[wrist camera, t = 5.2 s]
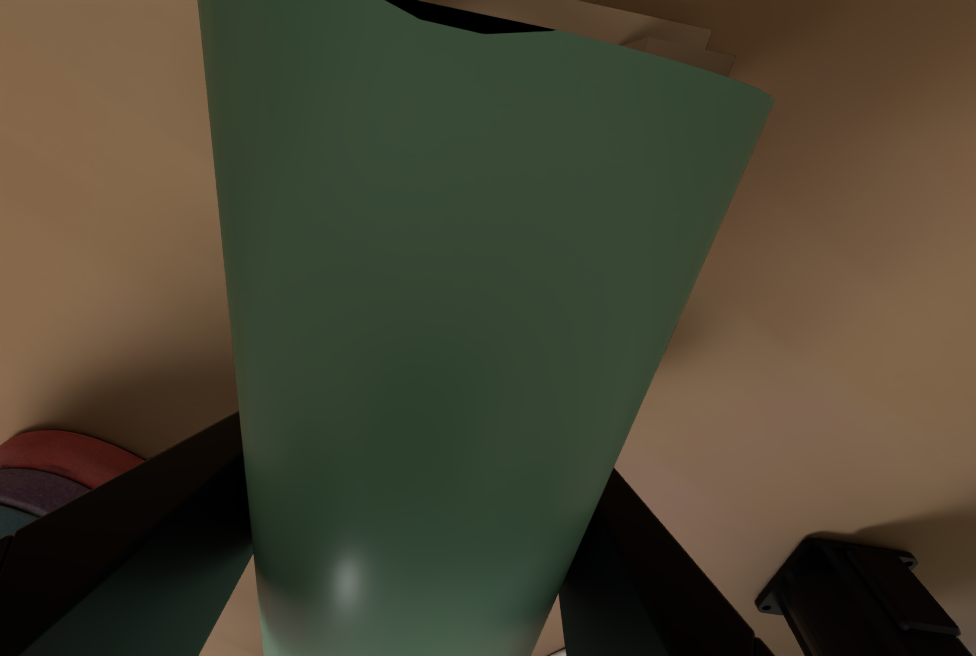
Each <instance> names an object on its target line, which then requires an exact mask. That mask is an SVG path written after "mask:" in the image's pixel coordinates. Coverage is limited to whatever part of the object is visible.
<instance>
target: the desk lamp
mask: <svg viewBox="0 0 976 656" xmlns="http://www.w3.org/2000/svg"><path fill="white" fill-rule="evenodd" d="M550 656H566V650H565V649H563V650H561V651H558V652H556V653H554V654H552V655H550Z"/></svg>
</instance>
